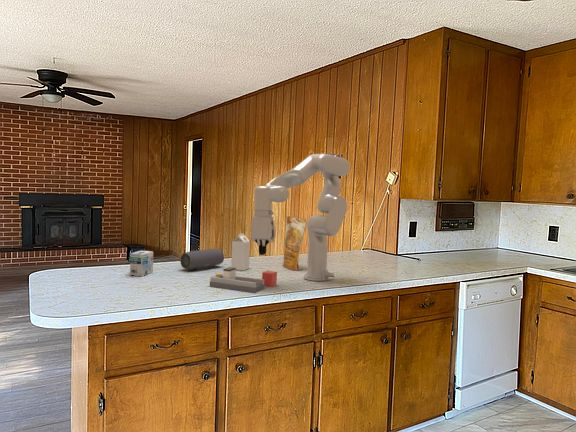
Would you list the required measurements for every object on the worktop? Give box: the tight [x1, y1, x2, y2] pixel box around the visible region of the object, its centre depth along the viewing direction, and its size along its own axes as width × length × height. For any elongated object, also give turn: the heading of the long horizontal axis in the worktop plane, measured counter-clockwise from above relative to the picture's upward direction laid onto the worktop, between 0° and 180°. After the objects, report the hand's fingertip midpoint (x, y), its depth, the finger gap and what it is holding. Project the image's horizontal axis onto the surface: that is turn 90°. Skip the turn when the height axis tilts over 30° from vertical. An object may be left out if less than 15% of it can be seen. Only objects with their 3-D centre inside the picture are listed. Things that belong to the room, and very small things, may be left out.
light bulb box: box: [129, 250, 154, 277], centre depth 220 cm, size 11×7×11 cm, turn 168°
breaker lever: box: [222, 266, 237, 280], centre depth 202 cm, size 3×6×6 cm, turn 157°
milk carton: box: [230, 232, 251, 271], centre depth 242 cm, size 7×7×19 cm
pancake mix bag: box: [282, 216, 307, 271], centre depth 250 cm, size 7×19×28 cm, turn 26°
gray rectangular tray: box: [209, 272, 266, 294], centre depth 201 cm, size 22×10×5 cm, turn 67°
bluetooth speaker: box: [179, 248, 225, 271], centre depth 239 cm, size 23×9×10 cm, turn 141°
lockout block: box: [261, 270, 278, 288], centre depth 208 cm, size 5×5×6 cm
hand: (262, 254), depth 205 cm, fingers closed
